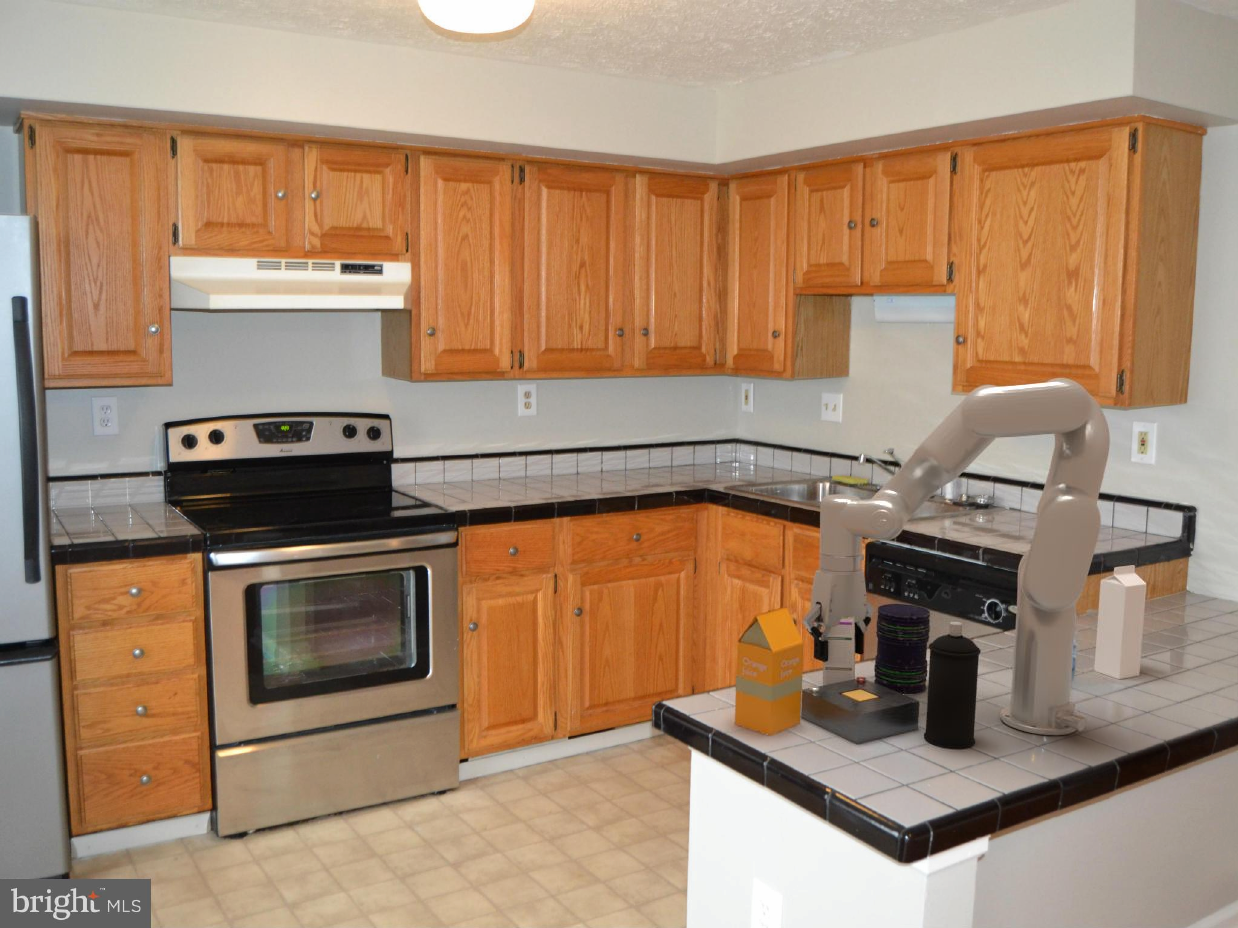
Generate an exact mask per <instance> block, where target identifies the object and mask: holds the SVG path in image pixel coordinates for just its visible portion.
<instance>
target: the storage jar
mask: <svg viewBox="0 0 1238 928" xmlns="http://www.w3.org/2000/svg"><path fill="white" fill-rule="evenodd" d="M930 617H931V611H930V610H929V609H927V608H924V607H921V606H917V605H912V604H905V603H889V604H882V605H880V606H878V607H877V618H876V632H875V634H876V637H877V647H876V655H875V659H874V662H875V663H874V669H873V670H874V678H875V679H874V682H873V683H876V684H878V685H881V686H883V687H886V688H888V689H891V690H893V691H896V692H898V693H901V694H913V695H918V694H922V693H924V692H926V689H927V685H926V683H927V677H928V660H927V651H928V642H929V640H930V632H931V630H930V629H931V628H930V627H931V625H930V623H931V622H930Z"/></svg>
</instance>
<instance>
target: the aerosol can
mask: <svg viewBox="0 0 1238 928" xmlns="http://www.w3.org/2000/svg"><path fill="white" fill-rule="evenodd" d="M962 632H963V623H962V622H959V621H950V623H949V631H948V634H945V635H940V636H939V637H937V638H935V639H934V640H933V641H931V643H929V644H928V649H929V665H928V683H927V684H928V685H927V700H926V701H927V703H926V716H925V717H926V720H925V732H924V733H923V738H924V740H926V742H927V743H930V744H931V745H933V746H936V747H940V748H944V749H951V750H963V749H969V748H971V747H973V746H974V745H975V744H976V739H975V728H976V727H975V726H976V725H975V724H976V723H975V722H976V709H977V692H978V691H977V689H978V677H979V676H978V675H979V659H980V657H979V656H980V654H981V649H980V648H979V647H978V645H977V644H976V643H975V642H974V641H973V640H972V639H970V638H968V637H966V636H964V635H962V634H963V633H962Z"/></svg>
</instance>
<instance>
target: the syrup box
mask: <svg viewBox="0 0 1238 928" xmlns="http://www.w3.org/2000/svg"><path fill="white" fill-rule="evenodd" d="M823 622H824V619H823ZM823 627H824V626H823ZM823 627H822V628H823ZM825 640H828V661H827V662H823V661H822V686H823V685H828V684H833V683H838V682H843V681H848V680H853V679H856V653H855V621H854V616H853V617H843V618H841V620H840V623H839V625H838V626H835V627H831V629H830V631H829V633H828V635H827V637H826V639H825Z"/></svg>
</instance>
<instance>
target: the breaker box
mask: <svg viewBox="0 0 1238 928" xmlns="http://www.w3.org/2000/svg"><path fill="white" fill-rule="evenodd" d="M860 689H861V690H863V691H866V692H868V693H871V694H873V695H875V696H878V697H879V698H878V699H874V700H869V701H865V702H860V703H859V702H857V701H855V700H852V699H850V698H848V697H845V696H843V695H842V693H846V692H850V691H855V690H860ZM920 702H921V701H920V700H919V699H915V698H913V697H910V696H909V695H903V694H901V693H898V692H896V691H893V690H891V689H888V688H886V687H883V686H881V685H878V684H876V683H874V682H873V681H871V680H869V679H867V678H866V677H864V676H857V677H856V678H855V679H853V680H848V681H843V682H838V683H833V684H828V685H823V684H822V685H819V686H815V685H813V686H812V685H811V686H810V687H809V688H804V689H802V691H801V716H800V719H801V718H802V720H803V719H804V720H805V721H808V722H809V723H811V724H815V725H817V726H818V727H820V728H823V729H824V730H827V731H829V732H830V733H832V734H835V735H838V736H839V737H841V738H844V739H846V740H848V741H850V742H851V743H854V744H856V745H858V744H863V743H867V742H871V741H872V742H873V741H875V740H879V739H883V738H887V737H892V736H895V735H900V734H905V733H909V732H912V731H917V730H919V720H920V719H919V718H920Z"/></svg>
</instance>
